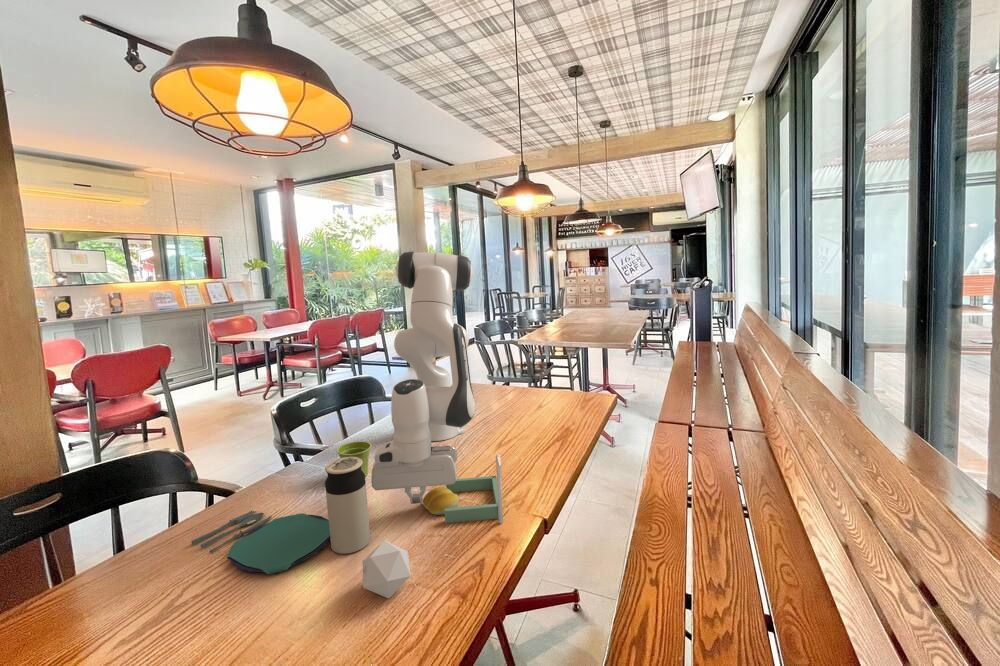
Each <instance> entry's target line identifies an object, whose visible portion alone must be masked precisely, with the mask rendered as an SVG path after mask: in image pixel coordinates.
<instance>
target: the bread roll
mask: <svg viewBox="0 0 1000 666" xmlns="http://www.w3.org/2000/svg"><path fill="white" fill-rule="evenodd" d="M459 498H460V497H459V496H458V495H457V493H455V492H452V491H450V490H449V489H447V488H446V487H443V486H438V487H435V488H432V489H431V490H429V491H427V492H426V494H425V495H424V497H423V501H422V504H423V506H424V508H425V509H426V510H427V511H429V513H430V514H432V515H435V516H442V515H445V508H455V507H459V504H460V499H459Z"/></svg>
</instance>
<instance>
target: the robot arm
mask: <svg viewBox="0 0 1000 666" xmlns="http://www.w3.org/2000/svg"><path fill="white" fill-rule="evenodd" d="M471 262H472V261H471V260H470V259H469V257H467V256H464V255H461V254H458V255H456V254H451V253H446V252H440V251H439V252H438V251H436V252H430V251H429V252H428V251H425V252H424V251H422V252H421V251H420V252H419V251H418V252H414V251H406V252H405V251H404V252H403V253H402V254H401V255H400V256H399V258H398V259H397V262H396V265H395V273H396V277H397V281H398V283H399V284H400V285H401V286H402V287H405V288H406V289H407V288H408V289H410V290H411V289H412V294H411V301H410V315H409V316H410V317H409V319H410V324H411V327H409V328H407V329H406V328H405V329H403V330H399V331H398V332H397V334H396V335H395V338H394V339H393V340H394V341H393V347H394V351H395V352H396V355H398V356H399V358H401V359H402V360H404V361H406V362H407V363H408V364H409V365H410V366H411V367H412V369H413V370H414V372H415V374H416V377H417V378H415V379H412V378H411V379H406V380H402V381H400V382H398V383H396V384H395V385H394V386H393V388H392V392H391V401H390V402H391V404H390V408H391V409H390V413H391V423H392V425H393V436H392V438H393V439H392V440H389V441H387V442H384V443H382V444H380V445H379V446H378V447H377V448H376V450H375V453H374V457H373V459H374V463H373V465H372V468H371V476H370V477H371V478H370V479H371V488H372V489H374V491H382V490H383V491H384V490H397V489H404V493H405V494H406V495H407V497H408V498H409V500H410V501H409V503H410V505H414V504H423V499H424V497H423V496H424V494H425V492H426V489H427V487H434V486H446V485H449V484H454V483H455V482H456V480H457V479H458V474H457V465H456V462H457V460H458V452H457V449H456V448H454V447H451V446H450V445H444V446H443V445H442V446H439V445H437V446H432V442H437V441H438V442H439V441H445V440H449V439H452V438H454V437H456V436H458V435H461V434H464V433H465V428H464V426H466V425H467V424H469V422H470V421H471V420H473V418H474V417H475V412H476V403H475V399H474V393H473V388H472V382H471V375H470V374H471V373H470V366H469V365H470V364H469V358H468V357H469V356H468V349H467V348H468V347H469V341H470V338H469V333H468V332H467V330H466V329H465V328H464V327H463V326H462V325H460V324H459V323H458V322H456V320H455V318H454V313H453V307H454V306H453V301H454V300H453V299H454V295H453V291H455V292H461V291H465V290H467V289H468V288H469V287H470V285H471V283H472V281H473V276H474V270H473V265H472V263H471ZM442 357H449V363H450V373H451V375H450V373H449V371H448V370H447V369H446V368H443V367H441V366H439V365H436V364H434V363H433V361H432V360H433V359H434V358H442ZM451 381H452V383H451ZM412 488H419V493H413V491H412Z"/></svg>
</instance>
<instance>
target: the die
mask: <svg viewBox="0 0 1000 666" xmlns="http://www.w3.org/2000/svg"><path fill="white" fill-rule="evenodd" d="M361 562H362V582H363V583H362V586H363V587H362V588H364V589H366V590H368V591H371V592H373V593H375V594H377V595H379V596H381V597H384V598H386V599H388V600H389V599H391V597H392V596H393V595H394V594H396V592H397V591H398V590H399V589H400V588H401V587H402V586H403V585H404V584H405V583H406V582H407V581H408V580H409V579H410V577H412V575H411V569H410V568H411V567H410V560H409V551H408V550H405V549H404V548H402V547H399V546H397V545H395V544H393V543H391V542H389V541H387V540H385V539H384V540H383V541H381V542H380V543H379V544H378V545H377V547H375V548H374V549H373V550H372V551H371V552H370V553H369V554H368V555H367V556H365V558H364V559H363V560H362V561H361Z"/></svg>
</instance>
